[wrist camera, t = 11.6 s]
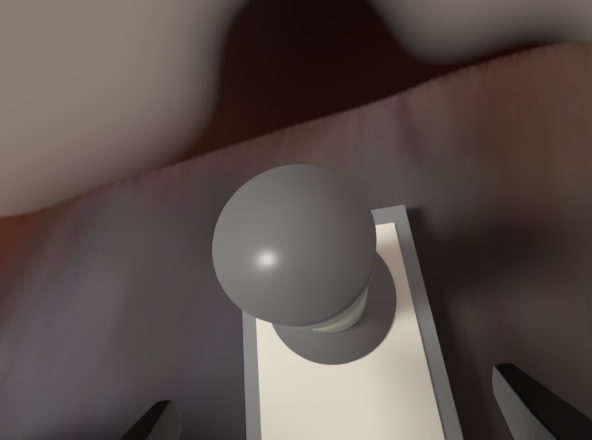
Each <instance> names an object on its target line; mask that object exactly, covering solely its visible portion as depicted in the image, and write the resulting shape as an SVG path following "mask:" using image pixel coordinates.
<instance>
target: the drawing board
mask: <svg viewBox="0 0 592 440" xmlns="http://www.w3.org/2000/svg"><path fill="white" fill-rule="evenodd" d="M371 212H372V215H373V218H374V222H375V227H376V237H377V242H376V253H375V260H374V267H373V274H372V278H371V282H370V285H369V288H368V292H367V302H366V307H365V309H364V312H363V314H362V316H361V317H360V319H359V320H358V321H357V322H356V323H355V324H354V325H353V326H352V327H350V328H349V329H347V330H345V331H342V332H339V333H322V332H318V331H315V330H311V329H296V328H291V327H286V326H282V325H278V324H273V323H269V322H266V321H263V320H260V319H258V318H256V317H253V316H251V315H249V314H248V313H246V312H245V311H243V310H242V311H243V343H244V375H245V407H246V438H247V440H464V439H463V435H462V431H461V427H460V423H459V419H458V415H457V412H456V408H455V404H454V400H453V396H452V392H451V388H450V384H449V380H448V376H447V372H446V368H445V364H444V360H443V356H442V352H441V348H440V344H439V340H438V336H437V332H436V328H435V324H434V320H433V317H432V313H431V309H430V305H429V301H428V297H427V293H426V289H425V285H424V281H423V277H422V273H421V269H420V265H419V261H418V257H417V253H416V249H415V245H414V241H413V237H412V233H411V229H410V225H409V222H408V218H407V214H406V210H405V206H404V205H400V206H394V207H388V208H382V209H376V210H371Z"/></svg>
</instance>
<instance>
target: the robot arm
mask: <svg viewBox="0 0 592 440" xmlns="http://www.w3.org/2000/svg"><path fill="white" fill-rule="evenodd" d="M492 387H493V392H494V395H495V398H496V400H497V402H498V404H499V407H500V409H501V411H502V413H503V416H504V418H505V420H506V422H507V425H508V427H509V429H510V431H511V433H512V436H513V438H514V440H592V420H591V419H589V418H588V417H586V416H585V415H584V414H582V413H581V412H579V411H578V410H577V409H575V408H574V407H572V406H571V405H570V404H568V403H567V402H565V401H564V400H563V399H561V398H560V397H558V396H557V395H555V394H554V393H553V392H551V391H550V390H548V389H547V388H546V387H544V386H543V385H541V384H540V383H539V382H537V381H536V380H534V379H533V378H532V377H530V376H529V375H527V374H526V373H524V372H523V371H522V370H520V369H519V368H517V367H516V366H515V365H513V364H510V363H504V364H496V365H494V366H493V383H492ZM181 428H182V419H181V416H180V414H179V412H178V410H177V408H176V406H175V405H174V403H173V401H171V400H163V401H158V402H157V403H155V404H154V405H153V406H152V407H151V408H150V409H149V410H148V411H147V412H146V413H145V414H144V415H143V416H142V417H141V418H140V419H139V420H138V421H137V422H136V423H135V424H134V425H133V426H132V427H131V428H130V429H129V430H128V431H127V432H126V433H125V434H124V435H123V436H122V437H121V438H120V439H119V440H179V437H180V432H181Z"/></svg>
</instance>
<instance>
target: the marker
mask: <svg viewBox="0 0 592 440" xmlns="http://www.w3.org/2000/svg"><path fill="white" fill-rule="evenodd" d="M376 242H377V237H376V227H375V222H374V218H373V215H372V212H371V210H370V207H369V205H368V204H367V202H366V200H365V198H364V197H363V196H362V194H361V193H360V192H359V190H358V189H357V188H356V187H355V186H354V185H353V184H352V183H350V182H349V181H348V180H347V179H345V178H344V177H342V176H340V175H339V174H337V173H335V172H333V171H331V170H328V169H325V168H322V167H318V166H313V165H302V164H296V165H286V166H281V167H277V168H274V169H271V170H268V171H266V172H264V173H261V174H259V175H258V176H256V177H254V178H252V179H251V180H250V181H248V182H247V183H246V184H244V185H243V186H242V187H241V188H240V189H239V190H238V191H237V192H236V193H235V194H234V195H233V196H232V197H231V198H230V200H229V201H228V203H227V204H226V206H225V207H224V209H223V211H222V213H221V215H220V217H219V219H218V222H217V224H216V228H215V232H214V236H213V244H212V256H213V263H214V268H215V271H216V275H217V277H218V280H219V282H220V284H221V286H222V288H223V289H224V291H225V293H226V294H227V295H228V296H229V298H230V299H231V300H232V301H233V302H234V303H235V304H236V305H237V306H238V307H239V308H240V309H242V310H243V311H245V312H246V313H248V314H249V315H251V316H253V317H256V318H258V319H260V320H263V321H266V322H269V323H273V324H278V325H282V326H286V327H291V328H296V329H311V330H315V331H318V332H322V333H339V332H342V331H345V330H347V329H349V328H350V327H352V326H353V325H354V324H355V323H356V322H357V321H358V320H359V319H360V317H361V316H362V314H363V312H364V309H365V307H366V302H367V292H368V288H369V285H370V282H371V278H372V274H373V267H374V260H375V253H376Z"/></svg>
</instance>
